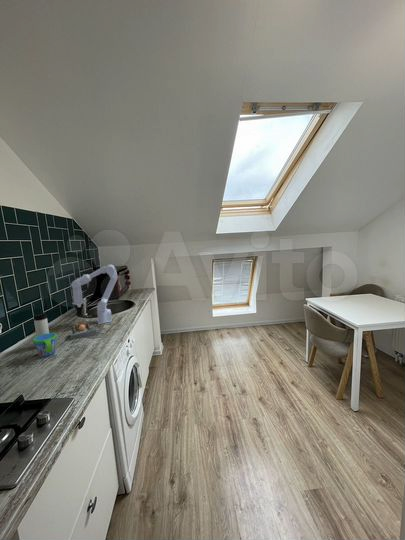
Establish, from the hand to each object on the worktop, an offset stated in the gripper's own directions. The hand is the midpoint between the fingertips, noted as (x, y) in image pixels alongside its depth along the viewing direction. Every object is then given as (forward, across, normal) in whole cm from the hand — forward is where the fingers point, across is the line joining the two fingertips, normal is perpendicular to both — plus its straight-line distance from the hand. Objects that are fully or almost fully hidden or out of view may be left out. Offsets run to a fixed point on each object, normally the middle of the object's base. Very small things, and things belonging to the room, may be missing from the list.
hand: (79, 314), depth 167 cm
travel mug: (+8, +26, -21) cm, 34 cm away
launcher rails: (+8, +9, 0) cm, 12 cm away
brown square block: (+8, +6, 0) cm, 10 cm away
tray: (+8, +22, 0) cm, 23 cm away
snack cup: (+8, +40, -19) cm, 45 cm away
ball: (+6, +12, 0) cm, 14 cm away
